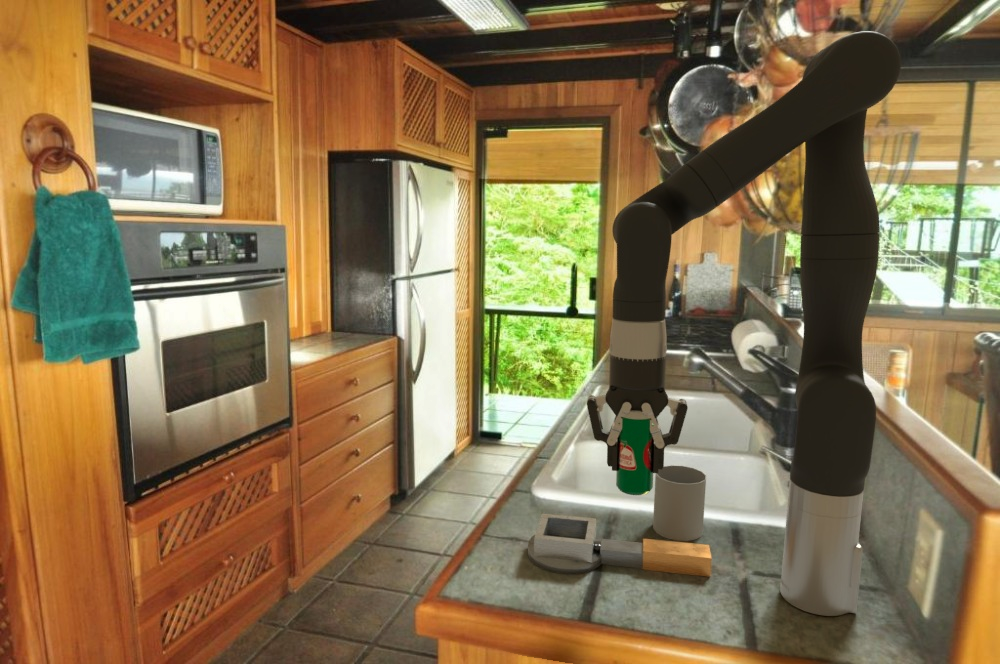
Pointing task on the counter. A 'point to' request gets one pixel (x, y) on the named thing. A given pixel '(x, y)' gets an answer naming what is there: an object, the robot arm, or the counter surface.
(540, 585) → the counter surface
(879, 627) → the counter surface
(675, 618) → the counter surface
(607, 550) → the ratchet
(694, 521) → the cup
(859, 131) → the robot arm
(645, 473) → the soda can
